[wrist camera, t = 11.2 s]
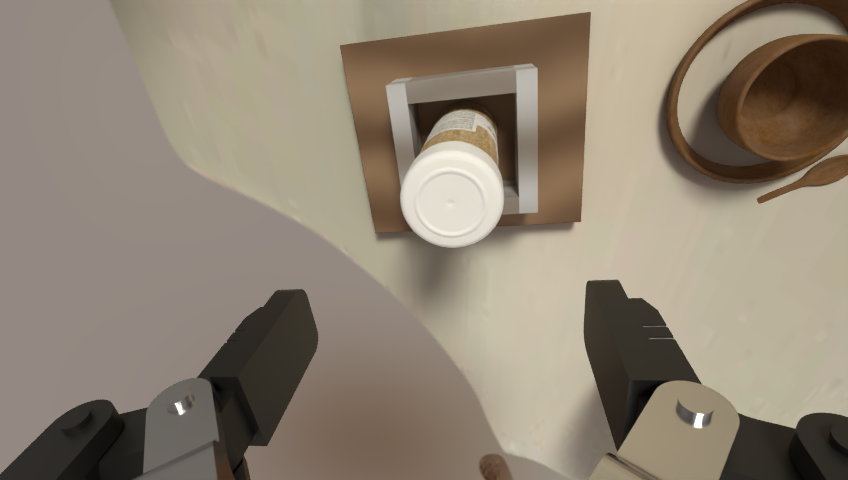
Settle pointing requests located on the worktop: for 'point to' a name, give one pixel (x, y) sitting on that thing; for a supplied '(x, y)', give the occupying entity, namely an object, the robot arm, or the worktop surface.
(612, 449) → the worktop surface
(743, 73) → the place setting
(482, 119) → the sprinkles bottle
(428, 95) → the socket
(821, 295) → the worktop surface
